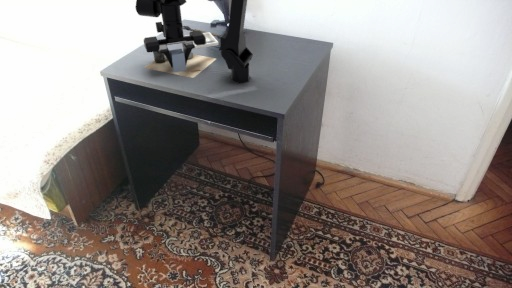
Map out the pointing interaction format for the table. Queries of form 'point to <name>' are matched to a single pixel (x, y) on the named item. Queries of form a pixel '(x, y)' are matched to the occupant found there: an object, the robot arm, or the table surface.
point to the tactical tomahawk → (202, 32)
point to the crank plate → (192, 66)
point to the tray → (208, 38)
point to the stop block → (178, 60)
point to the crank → (161, 57)
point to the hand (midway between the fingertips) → (178, 66)
